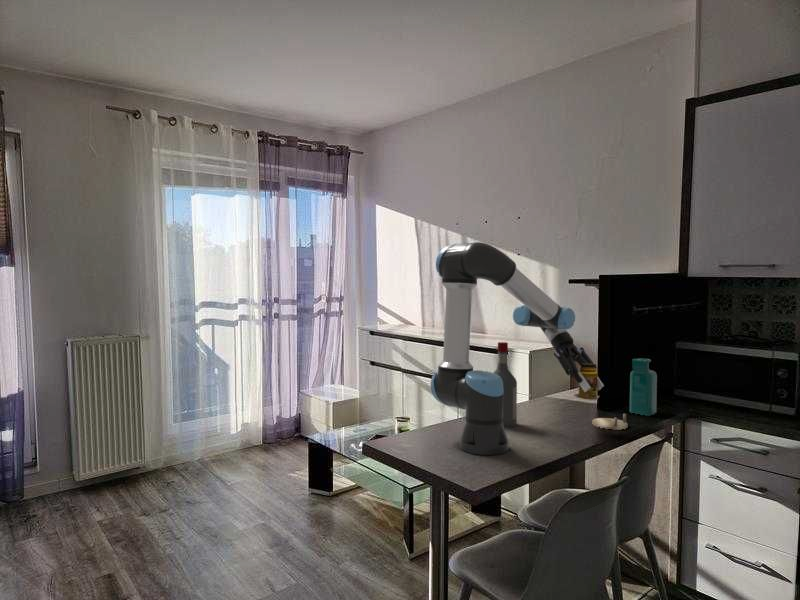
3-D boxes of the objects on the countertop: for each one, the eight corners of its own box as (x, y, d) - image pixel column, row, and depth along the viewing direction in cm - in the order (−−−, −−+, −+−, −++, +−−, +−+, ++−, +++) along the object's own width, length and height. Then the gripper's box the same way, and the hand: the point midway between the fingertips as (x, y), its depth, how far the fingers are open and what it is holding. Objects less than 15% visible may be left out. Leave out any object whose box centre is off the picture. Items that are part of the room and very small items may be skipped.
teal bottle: (635, 409, 216) (636, 356, 216) (657, 413, 210) (658, 358, 210) (626, 413, 209) (627, 358, 209) (648, 417, 203) (649, 360, 203)
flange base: (599, 429, 186) (599, 418, 186) (587, 421, 198) (587, 410, 198) (633, 430, 186) (633, 418, 186) (619, 421, 198) (619, 410, 198)
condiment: (596, 400, 180) (596, 365, 180) (570, 397, 185) (571, 363, 184) (599, 396, 187) (600, 363, 186) (574, 394, 191) (575, 361, 191)
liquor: (510, 420, 198) (511, 341, 197) (518, 427, 189) (518, 344, 188) (486, 421, 197) (487, 341, 196) (492, 427, 188) (493, 344, 187)
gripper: (571, 342, 203) (606, 392, 190) (535, 345, 194) (568, 397, 180) (582, 330, 199) (619, 380, 185) (546, 331, 189) (581, 384, 175)
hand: (594, 388), depth 183 cm, fingers closed on condiment, 6 cm apart
